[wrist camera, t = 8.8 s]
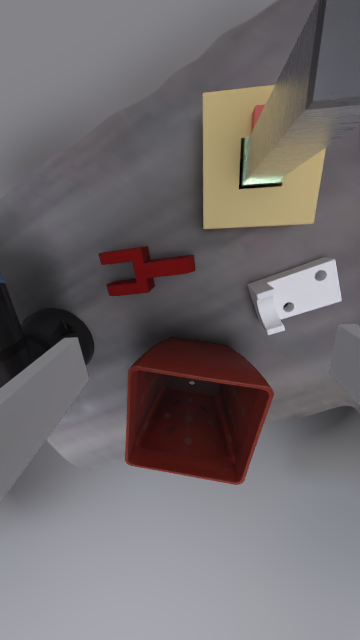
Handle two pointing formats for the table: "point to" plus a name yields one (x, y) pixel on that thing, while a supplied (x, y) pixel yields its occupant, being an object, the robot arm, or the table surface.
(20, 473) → the robot arm
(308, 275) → the bracket
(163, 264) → the mechanical linkage
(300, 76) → the column
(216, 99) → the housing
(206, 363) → the plant pot
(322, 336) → the table surface
